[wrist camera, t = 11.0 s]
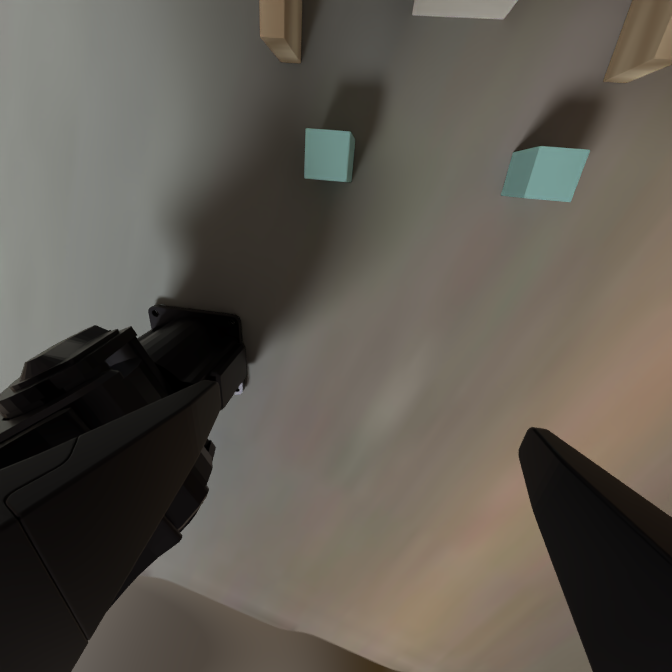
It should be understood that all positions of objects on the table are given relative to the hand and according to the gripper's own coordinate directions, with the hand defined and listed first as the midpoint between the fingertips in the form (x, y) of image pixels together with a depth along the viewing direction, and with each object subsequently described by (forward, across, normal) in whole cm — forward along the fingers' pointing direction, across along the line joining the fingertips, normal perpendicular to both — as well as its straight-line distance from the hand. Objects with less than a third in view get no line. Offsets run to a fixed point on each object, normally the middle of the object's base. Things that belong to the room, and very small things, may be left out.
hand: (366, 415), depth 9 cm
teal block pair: (+12, -2, -7) cm, 14 cm away
